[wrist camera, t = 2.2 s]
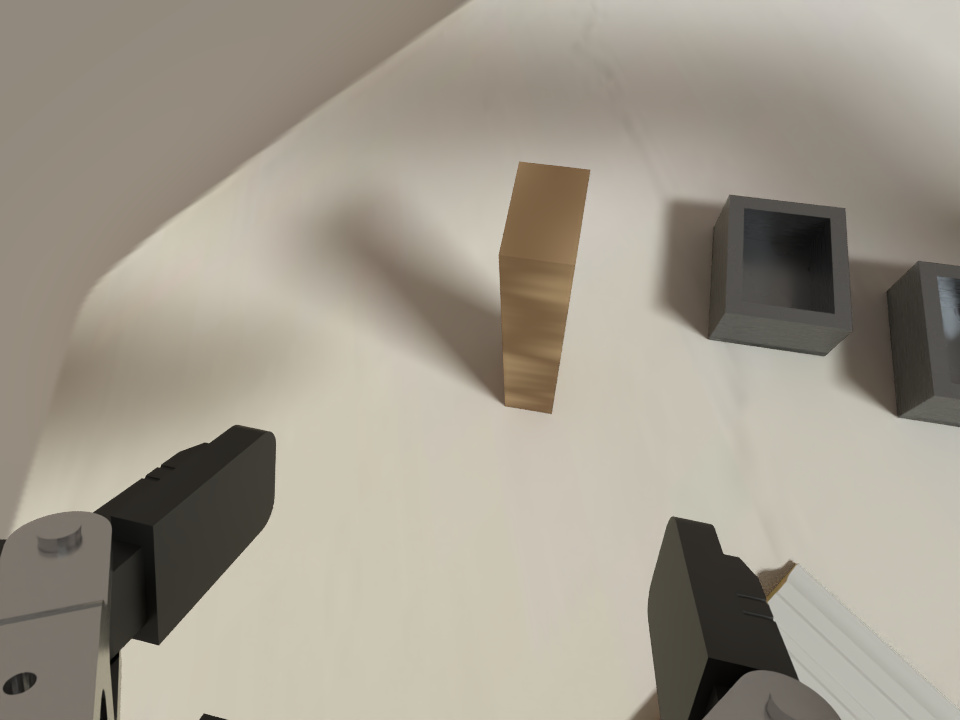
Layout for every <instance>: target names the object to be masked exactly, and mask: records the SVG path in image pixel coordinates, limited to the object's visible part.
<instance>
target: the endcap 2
mask: <svg viewBox="0 0 960 720" xmlns="http://www.w3.org/2000/svg"><path fill="white" fill-rule="evenodd" d="M887 300H888V311H889V322H890V333H891V344H892V355H893V367H894V378H895V389H896V400H897V411H898V417H899V418H906V419H912V420H918V421H925V422H931V423H938V424H944V425H951V426H957V427H960V266H954V265H946V264H938V263H930V262H922V261H918V262H917V263H916V264H915V265H914V266H913V267H912V268H911V269H910V270H909V271H908V272H907V273H906V274H905V275H903V276H902V277H901V278H900V279H899V280H898V281H897V282H896V283H895V284H894V285H893V286H892V287H891V288H890V289H889V290H888V291H887Z"/></svg>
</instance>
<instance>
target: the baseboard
mask: <svg viewBox="0 0 960 720" xmlns="http://www.w3.org/2000/svg"><path fill="white" fill-rule="evenodd" d="M766 599H767V600H766V603H768V604H769V606H770V609H771V611H772V614H773V616H774V618H773V621H775V622H776V624H777V626H778V629H779V631H780V634H781V636H782V639H783V641H784V644H785V646H786V649H787V651H788V654H789V656H790V658H791V661H792V663H793V666H794V668H795V671H796V673H797V676H798V678H799V681H800V682H801V683H803V684H805V685H806V686H808V687H810V688H811V689H812V690H814V691H815V692H817V693H818V694H819V695H820V696H821V697H822V698H824V699H825V700H826V701H827V702H828V703H829V704H830V705H831V706H832V708H833V709H834V710H835V711H836V713H837V714H838V715H839V717H840V719H841V720H960V710H959V709H958V708H957V707H956V706H955V705H954V704H953V703H952V702H951V701H949V700H948V699H947V698H946V697H945V696H944V695H943V694H942V693H941V692H940V691H938V690H937V689H936V688H935V687H934V686H933V685H932V684H931V683H930V682H929V681H927V680H926V679H925V678H924V677H923V676H922V675H921V674H920V673H919V672H918V671H916V670H915V669H914V668H913V667H912V666H911V665H910V664H909V663H908V662H906V661H905V660H904V659H903V658H902V657H901V656H900V655H899V654H898V653H897V652H895V651H894V650H893V649H892V648H891V647H890V646H889V645H888V644H887V643H886V642H884V641H883V640H882V639H881V638H880V637H879V636H878V635H877V634H876V633H875V632H873V631H872V630H871V629H870V628H869V627H868V626H867V625H866V624H865V623H864V622H862V621H861V620H860V619H859V618H858V617H857V616H856V615H855V614H854V613H852V612H851V611H850V610H849V609H848V608H847V607H846V606H845V605H844V604H843V603H841V602H840V601H839V600H838V599H837V598H836V597H835V596H834V595H833V594H832V593H830V592H829V591H828V590H827V589H826V588H825V587H824V586H823V585H822V584H821V583H819V582H818V581H817V580H816V579H815V578H814V577H813V576H812V575H811V574H810V573H808V572H807V571H806V570H805V569H804V568H803V567H802V566H801V565H800V564H799V563H797V564H795V565H794V566H793V568H792V569H791V570H790V571H789V572H788V573H787V574H786V576H785V577H784V578H783V579H782V580H781V581H780V583H779V584H778V585H777V586H776V587H775V588H774V589H773V591H772V592H771V593H770V594H769V595H768V596H767V598H766Z"/></svg>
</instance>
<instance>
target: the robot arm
mask: <svg viewBox="0 0 960 720" xmlns="http://www.w3.org/2000/svg"><path fill="white" fill-rule="evenodd" d="M275 461H276V439H275V436H274V434H273V433H272V432H269V431H265V430H260V429H255V428H250V427H245V426H241V425H234V426H232V427H231V428H230V429H228V430H227V431H225V432H224V433H223V434H221V435H220V436H219V437H217V438H216V439H215V440H213V441H212V442H211V443H202V444H200V445H197V446H194V447H191V448H189V449H186V450H183V451H180V452H179V453H177V454H176V455H174V456H173V457H172V458H170V459H169V460H167V461H166V462H164V463H163V464H162V465H161V467H160V468H158V467H157V468H156V469H154V470H153V471H152V472H150V473H149V474H147V475H146V477H145V479H140V480H139V481H137V482H136V483H135V484H133V485H132V486H130V487H129V488H127V489H126V490H125V491H123V492H122V493H120V494H119V495H117V496H116V497H115V498H113V499H112V500H110V501H109V502H107V503H106V504H105V505H103V506H102V507H100V508H99V509H97V510H96V511H95V512H93V513H91V512H83V511H72V512H63V513H57V514H52V515H48V516H45V517H42V518H39V519H36V520H34V521H31V522H29V523H27V524H25V525H23V526H22V527H20V528H19V529H17V530H16V531H15V532H13V533H12V534H11V535H10V536H9V537H8V539H7V540H0V720H120V700H121V668H122V661H121V649H122V648H123V647H124V646H125V645H126V644H127V643H128V642H129V641H130V640H131V639H136V640H140V641H144V642H148V643H152V644H155V645H160V643H161V642H162V641H163V640H164V639H165V638H166V637H167V636H168V635H169V633H170V632H171V631H172V630H173V629H174V628H175V627H176V626H177V625H178V623H179V622H180V621H181V620H182V619H183V618H184V617H185V616H186V614H187V613H188V612H189V611H190V610H191V609H192V608H193V607H194V606H195V604H196V603H197V602H198V601H199V600H200V599H201V598H202V597H203V595H204V594H205V593H206V592H207V591H208V590H209V589H210V588H211V587H212V585H213V584H214V583H215V582H216V581H217V580H218V579H219V578H220V576H221V575H222V574H223V573H224V572H225V571H226V570H227V569H228V568H229V566H230V565H231V564H232V563H233V562H234V561H235V560H236V559H237V557H238V556H239V555H240V554H241V553H242V552H243V551H244V550H245V549H246V547H247V546H248V545H249V544H250V543H251V542H252V541H253V540H254V539H255V537H256V536H257V535H258V534H259V533H260V532H261V531H262V530H263V528H264V527H265V525H266V524H267V522H268V520H269V518H270V515H271V512H272V509H273V505H274V496H275ZM766 600H767V599H766V597H765V594H764V592H763V589H762V587H761V584H760V582H759V579H758V577H757V576H756V575H755V574H754V573H753V572H752V571H751V570H750V569H749V568H748V567H747V566H746V564H745V563H744V562H743V561H742V560H741V559H740V558H739V557H734V556H730V555H725V554H723V552H722V549H721V546H720V543H719V540H718V537H717V534H716V531H715V528H714V526H713V525H711V524H707V523H702V522H697V521H692V520H688V519H683V518H678V517H671V518H670V520H669V522H668V524H667V527H666V531H665V534H664V538H663V541H662V545H661V549H660V552H659V556H658V560H657V563H656V567H655V571H654V574H653V578H652V582H651V586H650V591H649V598H648V623H649V631H650V638H651V646H652V654H653V662H654V670H655V678H656V686H657V694H658V702H659V710H660V718H661V720H841V719H840V717H839V715H838V714H837V713H836V711H835V710H834V709H833V708H832V706H831V705H830V704H829V703H828V702H827V701H826V700H825V699H824V698H822V697H821V696H820V695H819V694H818V693H817V692H815V691H814V690H812V689H811V688H810V687H808V686H806V685H805V684H803V683H801V682H800V681H799V678H798V676H797V673H796V671H795V668H794V666H793V663H792V661H791V658H790V656H789V654H788V651H787V649H786V646H785V644H784V641H783V639H782V636H781V634H780V631H779V629H778V626H777V624H776V622H775V621H773V618H774V616H773V614H772V611H771V609H770V606H769V604H768V603H766ZM200 720H226V719H222V718H219V717H215V716H211V715H208V714H203V715H202V717H201V718H200Z"/></svg>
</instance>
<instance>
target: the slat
mask: <svg viewBox="0 0 960 720" xmlns="http://www.w3.org/2000/svg"><path fill="white" fill-rule="evenodd" d="M589 174H590V170H588V169H579V168H570V167H561V166H553V165H544V164H535V163H526V162H519V165H518V170H517V174H516V179H515V184H514V188H513V193H512V197H511V202H510V206H509V211H508V215H507V220H506V224H505V229H504V234H503V238H502V243H501V247H500V252H499V272H500V296H501V320H502V344H503V368H504V393H505V406H507V407H513V408H519V409H525V410H531V411H537V412H543V413H549V414H552V408H553V402H554V396H555V389H556V383H557V377H558V370H559V364H560V358H561V352H562V345H563V339H564V333H565V326H566V320H567V314H568V308H569V301H570V295H571V289H572V282H573V276H574V270H575V263H576V257H577V251H578V244H579V238H580V232H581V225H582V219H583V212H584V206H585V200H586V193H587V187H588V181H589Z"/></svg>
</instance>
